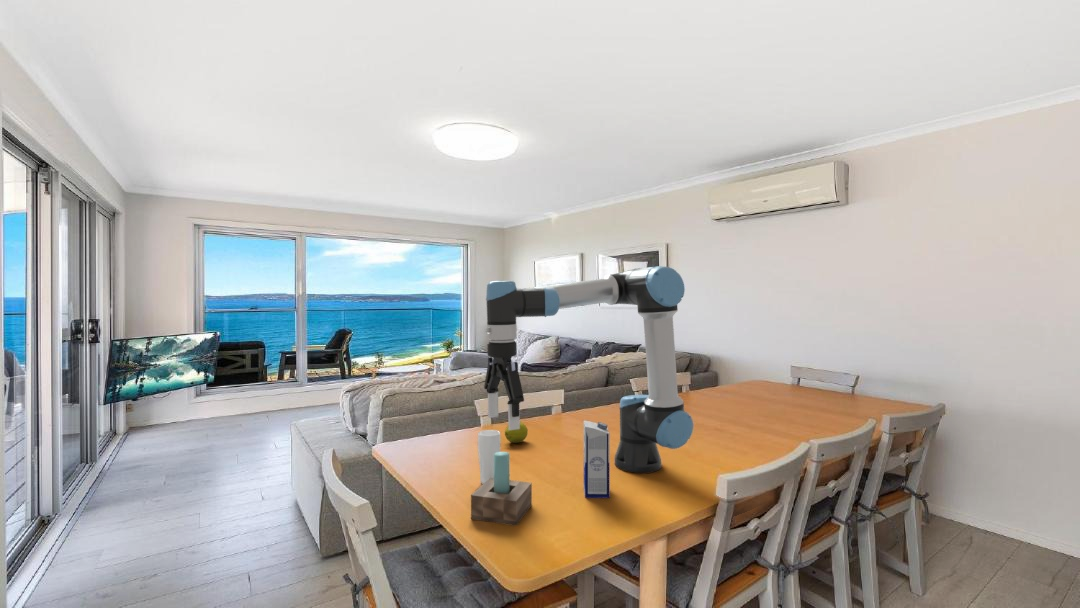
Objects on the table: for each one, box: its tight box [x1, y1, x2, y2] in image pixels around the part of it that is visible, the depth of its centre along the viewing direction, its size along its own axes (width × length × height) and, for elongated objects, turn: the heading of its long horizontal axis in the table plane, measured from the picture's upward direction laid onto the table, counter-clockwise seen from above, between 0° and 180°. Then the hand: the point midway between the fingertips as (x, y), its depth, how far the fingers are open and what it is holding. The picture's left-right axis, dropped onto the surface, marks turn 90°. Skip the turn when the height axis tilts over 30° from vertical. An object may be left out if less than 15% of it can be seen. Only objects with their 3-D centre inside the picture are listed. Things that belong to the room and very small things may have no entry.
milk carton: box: [583, 420, 611, 499], centre depth 135 cm, size 7×7×20 cm
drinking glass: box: [477, 429, 502, 485], centre depth 142 cm, size 7×7×15 cm
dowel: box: [494, 451, 510, 494], centre depth 123 cm, size 4×4×14 cm
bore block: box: [470, 478, 533, 527], centre depth 123 cm, size 12×12×6 cm
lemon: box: [504, 421, 529, 444], centre depth 181 cm, size 11×8×8 cm
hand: (503, 423), depth 123 cm, fingers open, 13 cm apart
